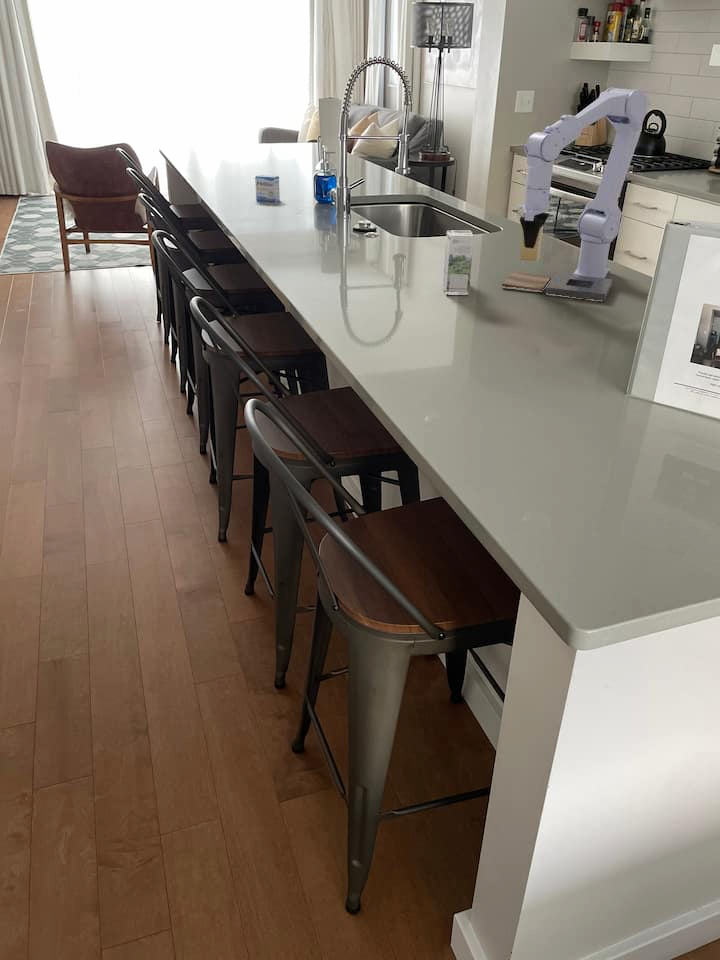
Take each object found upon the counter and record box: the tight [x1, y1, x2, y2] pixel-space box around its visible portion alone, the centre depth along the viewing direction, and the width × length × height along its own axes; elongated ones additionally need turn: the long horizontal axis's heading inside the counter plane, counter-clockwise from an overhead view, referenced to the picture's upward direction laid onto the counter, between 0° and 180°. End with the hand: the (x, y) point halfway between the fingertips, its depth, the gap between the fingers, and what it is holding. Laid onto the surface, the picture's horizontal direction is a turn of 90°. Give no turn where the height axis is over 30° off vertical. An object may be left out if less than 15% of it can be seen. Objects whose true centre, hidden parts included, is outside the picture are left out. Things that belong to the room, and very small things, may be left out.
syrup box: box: [442, 229, 475, 293], centre depth 189 cm, size 6×6×14 cm
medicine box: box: [254, 174, 281, 203], centre depth 292 cm, size 8×4×9 cm, turn 73°
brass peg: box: [519, 225, 544, 262], centre depth 194 cm, size 4×4×8 cm
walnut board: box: [501, 271, 553, 292], centre depth 199 cm, size 12×10×1 cm
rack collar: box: [544, 272, 613, 301], centre depth 194 cm, size 14×14×2 cm
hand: (531, 245), depth 194 cm, fingers closed on brass peg, 4 cm apart
